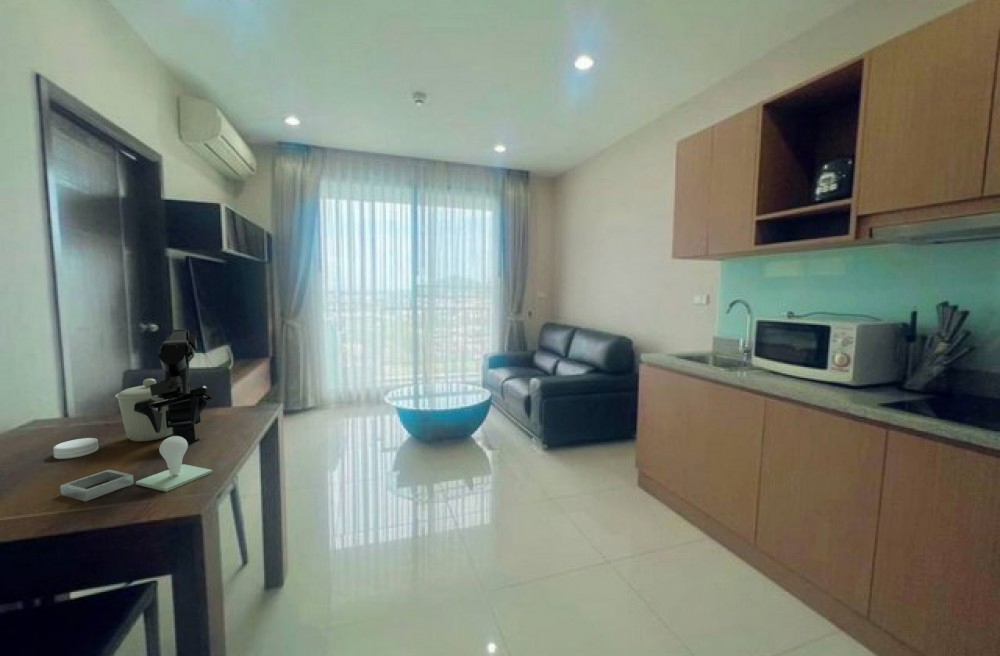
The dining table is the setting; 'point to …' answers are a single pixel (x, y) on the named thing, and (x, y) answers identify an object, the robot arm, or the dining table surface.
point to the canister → (135, 422)
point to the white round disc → (75, 448)
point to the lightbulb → (173, 453)
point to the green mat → (174, 478)
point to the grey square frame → (78, 486)
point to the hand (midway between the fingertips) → (175, 428)
